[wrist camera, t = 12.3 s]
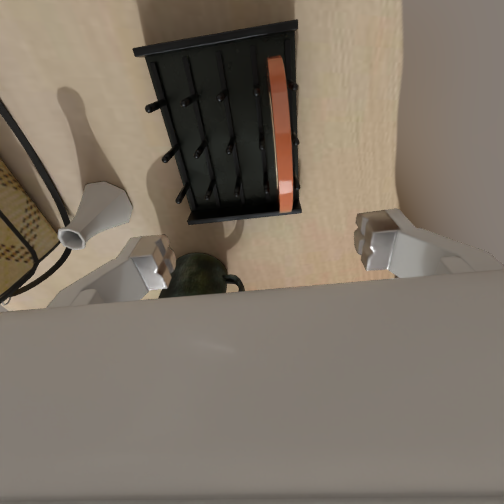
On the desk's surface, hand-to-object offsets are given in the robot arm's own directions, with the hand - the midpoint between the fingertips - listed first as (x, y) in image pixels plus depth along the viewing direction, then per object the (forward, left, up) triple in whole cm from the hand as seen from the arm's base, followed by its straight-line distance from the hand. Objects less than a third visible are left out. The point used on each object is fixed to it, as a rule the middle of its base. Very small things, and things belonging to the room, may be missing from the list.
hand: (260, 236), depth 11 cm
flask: (+8, -24, -27) cm, 37 cm away
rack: (+1, -3, -26) cm, 27 cm away
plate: (+1, +2, -18) cm, 18 cm away
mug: (+23, -12, -27) cm, 37 cm away
